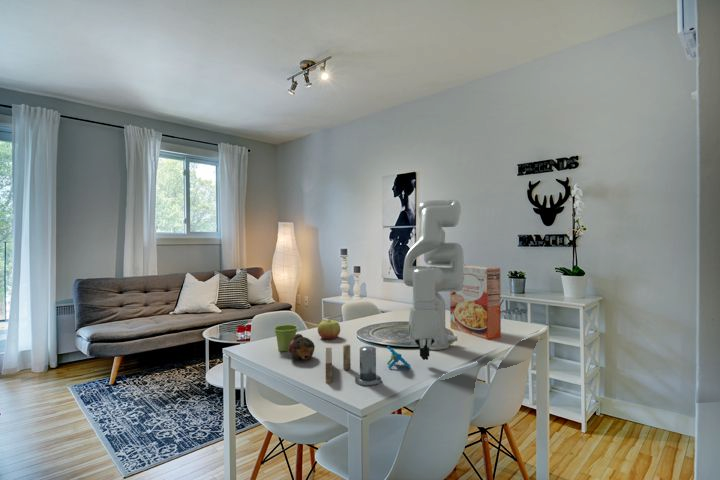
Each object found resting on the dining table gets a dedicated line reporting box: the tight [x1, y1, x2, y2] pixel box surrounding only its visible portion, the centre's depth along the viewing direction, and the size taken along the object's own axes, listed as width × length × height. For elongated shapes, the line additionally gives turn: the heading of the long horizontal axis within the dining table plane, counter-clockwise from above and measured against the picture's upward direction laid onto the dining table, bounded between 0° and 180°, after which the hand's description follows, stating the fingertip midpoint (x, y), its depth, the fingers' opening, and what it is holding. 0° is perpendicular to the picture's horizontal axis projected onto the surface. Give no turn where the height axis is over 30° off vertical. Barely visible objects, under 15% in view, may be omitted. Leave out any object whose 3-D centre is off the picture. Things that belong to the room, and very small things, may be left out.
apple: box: [317, 319, 341, 340], centre depth 167 cm, size 10×10×8 cm
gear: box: [386, 345, 411, 370], centre depth 129 cm, size 11×6×10 cm
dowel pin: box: [342, 343, 352, 371], centre depth 128 cm, size 2×2×8 cm
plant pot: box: [273, 324, 299, 352], centre depth 151 cm, size 9×9×9 cm
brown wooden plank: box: [325, 347, 333, 384], centre depth 125 cm, size 2×16×6 cm, turn 5°
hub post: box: [354, 345, 382, 387], centre depth 118 cm, size 8×8×10 cm
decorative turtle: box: [288, 333, 316, 362], centre depth 140 cm, size 10×15×8 cm, turn 27°
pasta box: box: [449, 264, 502, 341], centre depth 174 cm, size 23×8×30 cm, turn 28°
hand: (424, 358), depth 130 cm, fingers closed
